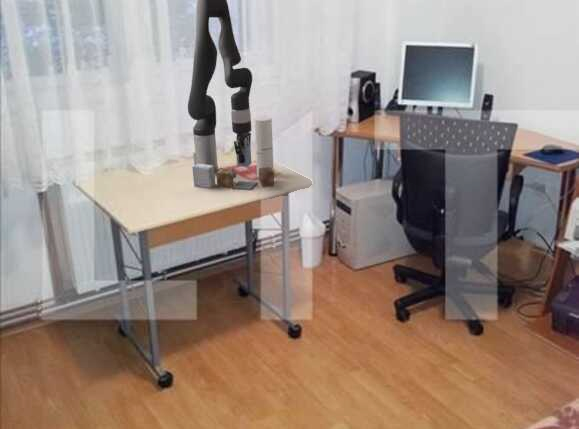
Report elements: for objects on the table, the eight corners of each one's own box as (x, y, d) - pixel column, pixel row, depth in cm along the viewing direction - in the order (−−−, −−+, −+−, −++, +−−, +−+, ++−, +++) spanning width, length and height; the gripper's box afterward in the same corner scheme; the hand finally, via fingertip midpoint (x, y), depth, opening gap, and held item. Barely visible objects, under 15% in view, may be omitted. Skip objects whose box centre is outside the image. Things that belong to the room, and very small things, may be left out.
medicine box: (215, 185, 266) (214, 165, 262) (210, 188, 262) (208, 168, 259) (199, 183, 269) (197, 163, 265) (193, 186, 265) (192, 166, 262)
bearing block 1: (217, 186, 264) (216, 172, 262) (222, 181, 269) (221, 168, 267) (233, 187, 262) (232, 174, 260) (238, 182, 267) (237, 169, 265)
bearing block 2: (261, 187, 262) (260, 173, 260) (258, 182, 268) (257, 168, 265) (274, 185, 263) (273, 171, 261) (271, 180, 269) (270, 167, 266)
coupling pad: (232, 188, 261) (232, 187, 261) (239, 182, 268) (239, 180, 268) (250, 190, 259) (250, 188, 259) (257, 183, 266) (257, 182, 266)
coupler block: (247, 166, 258) (246, 146, 254) (237, 166, 259) (235, 146, 255) (251, 163, 262) (250, 143, 258) (241, 162, 263) (239, 143, 259)
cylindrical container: (273, 178, 272) (271, 120, 262) (256, 178, 272) (253, 120, 262) (274, 172, 278) (271, 115, 268) (257, 172, 278) (254, 116, 269)
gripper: (244, 124, 246) (247, 167, 252) (256, 115, 258) (258, 156, 265) (225, 124, 248) (229, 166, 254) (238, 115, 260) (241, 155, 267)
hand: (244, 161), depth 260 cm, fingers closed on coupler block, 4 cm apart
